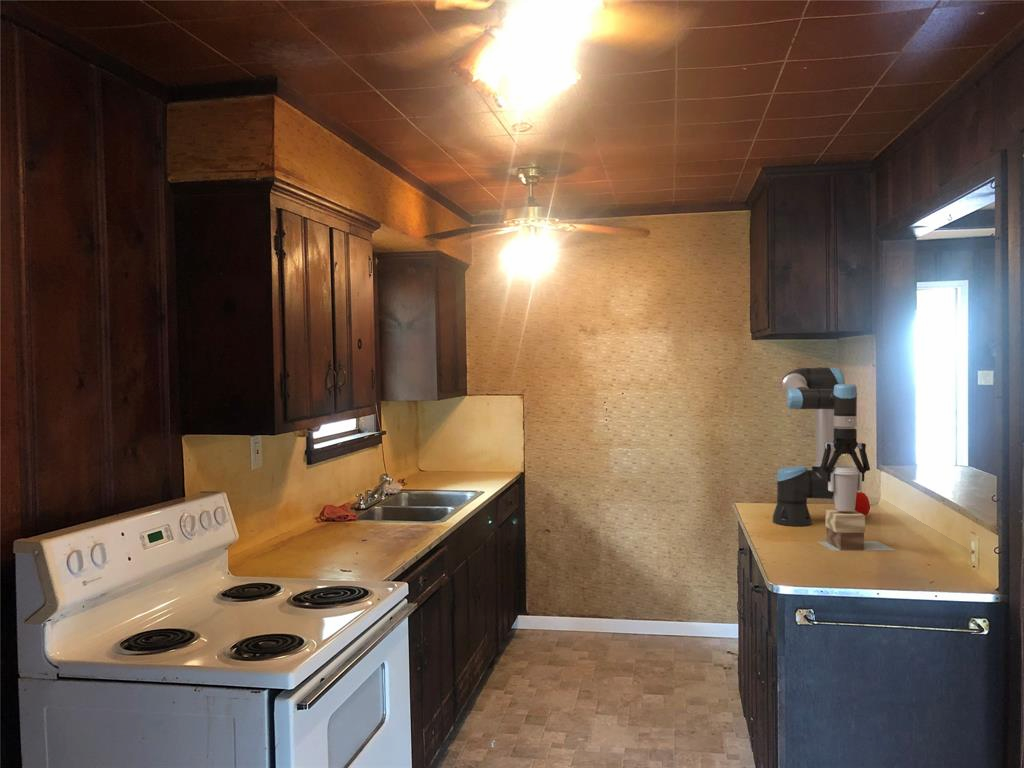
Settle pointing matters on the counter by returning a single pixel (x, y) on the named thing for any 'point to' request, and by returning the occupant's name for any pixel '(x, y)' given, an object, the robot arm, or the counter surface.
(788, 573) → the counter surface
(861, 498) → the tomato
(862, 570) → the counter surface
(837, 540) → the walnut base brick
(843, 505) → the coffee cup
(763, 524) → the counter surface
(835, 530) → the oak brick
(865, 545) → the board
